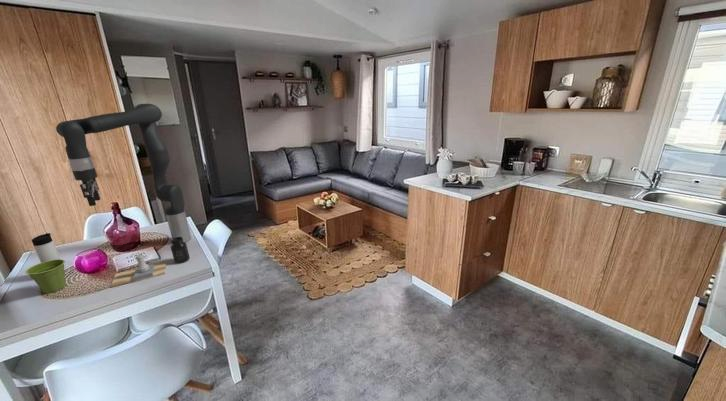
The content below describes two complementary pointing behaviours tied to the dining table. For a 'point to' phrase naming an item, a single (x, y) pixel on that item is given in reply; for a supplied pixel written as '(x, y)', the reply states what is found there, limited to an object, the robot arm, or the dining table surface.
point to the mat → (128, 275)
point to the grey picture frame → (144, 273)
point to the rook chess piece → (141, 263)
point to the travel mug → (45, 248)
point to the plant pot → (48, 275)
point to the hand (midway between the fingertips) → (95, 202)
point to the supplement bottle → (179, 250)
